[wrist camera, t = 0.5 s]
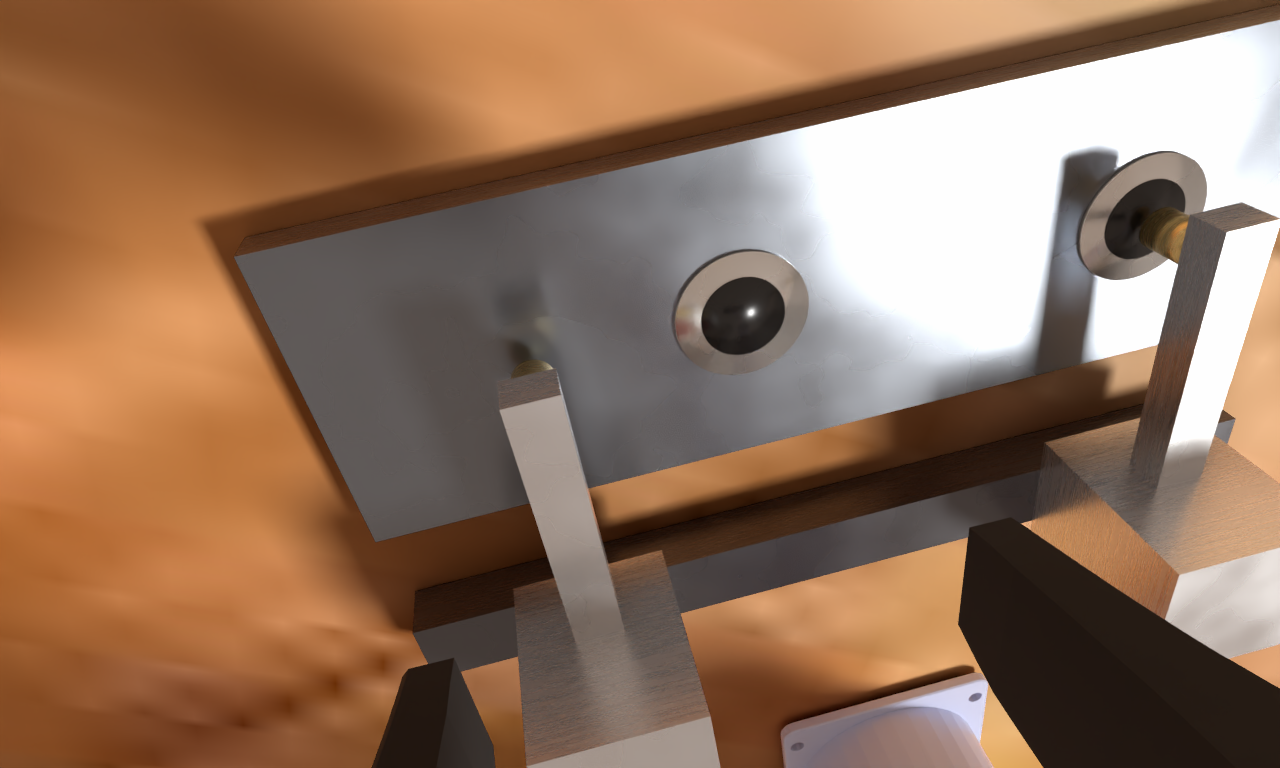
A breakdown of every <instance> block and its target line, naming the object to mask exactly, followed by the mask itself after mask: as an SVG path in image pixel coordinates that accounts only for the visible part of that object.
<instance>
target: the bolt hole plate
mask: <svg viewBox="0 0 1280 768" xmlns="http://www.w3.org/2000/svg"><path fill="white" fill-rule="evenodd" d="M1240 202H1243V203H1245V204H1248V205H1250V206H1252V207H1255V208H1257V209H1259V210H1262V211H1264V212H1266V213H1269V214H1271V215H1273V216H1276V217H1278V218H1280V4H1279V5H1275V6H1270V7H1266V8H1262V9H1257V10H1253V11H1248V12H1244V13H1239V14H1235V15H1231V16H1226V17H1222V18H1217V19H1213V20H1208V21H1204V22H1199V23H1195V24H1191V25H1186V26H1182V27H1177V28H1173V29H1168V30H1164V31H1160V32H1155V33H1151V34H1146V35H1142V36H1137V37H1133V38H1128V39H1124V40H1120V41H1115V42H1111V43H1106V44H1102V45H1097V46H1093V47H1089V48H1084V49H1080V50H1075V51H1071V52H1066V53H1062V54H1057V55H1053V56H1049V57H1044V58H1040V59H1035V60H1031V61H1026V62H1022V63H1017V64H1013V65H1009V66H1004V67H1000V68H995V69H991V70H986V71H982V72H978V73H973V74H969V75H964V76H960V77H955V78H951V79H946V80H942V81H938V82H933V83H929V84H924V85H920V86H915V87H911V88H907V89H902V90H898V91H893V92H889V93H884V94H880V95H875V96H871V97H867V98H862V99H858V100H853V101H849V102H844V103H840V104H836V105H831V106H827V107H822V108H818V109H813V110H809V111H804V112H800V113H796V114H791V115H787V116H782V117H778V118H773V119H769V120H764V121H760V122H756V123H751V124H747V125H742V126H738V127H733V128H729V129H725V130H720V131H716V132H711V133H707V134H702V135H698V136H693V137H689V138H685V139H680V140H676V141H671V142H667V143H662V144H658V145H654V146H649V147H645V148H640V149H636V150H631V151H627V152H622V153H618V154H614V155H609V156H605V157H600V158H596V159H591V160H587V161H583V162H578V163H574V164H569V165H565V166H560V167H556V168H551V169H547V170H543V171H538V172H534V173H529V174H525V175H520V176H516V177H511V178H507V179H503V180H498V181H494V182H489V183H485V184H480V185H476V186H472V187H467V188H463V189H458V190H454V191H449V192H445V193H440V194H436V195H432V196H427V197H423V198H418V199H414V200H409V201H405V202H401V203H396V204H392V205H387V206H383V207H378V208H374V209H369V210H365V211H361V212H356V213H352V214H347V215H343V216H338V217H334V218H330V219H325V220H321V221H316V222H312V223H307V224H303V225H298V226H294V227H290V228H285V229H281V230H276V231H272V232H267V233H263V234H258V235H254V236H250V237H245V239H244V240H243V242H242V244H241V246H240V247H239V249H238V251H237V252H236V254H235V256H234V258H235V260H236V262H237V264H238V266H239V268H240V270H241V272H242V274H243V276H244V278H245V280H246V282H247V284H248V286H249V289H250V291H251V293H252V295H253V297H254V299H255V301H256V303H257V305H258V307H259V309H260V311H261V313H262V315H263V317H264V319H265V321H266V323H267V325H268V327H269V329H270V331H271V333H272V335H273V337H274V339H275V341H276V343H277V345H278V347H279V349H280V351H281V353H282V355H283V357H284V359H285V361H286V363H287V365H288V367H289V369H290V371H291V373H292V375H293V377H294V379H295V381H296V383H297V385H298V387H299V389H300V391H301V393H302V395H303V397H304V399H305V401H306V403H307V405H308V407H309V409H310V411H311V413H312V415H313V417H314V419H315V421H316V423H317V425H318V427H319V429H320V431H321V433H322V435H323V437H324V439H325V441H326V443H327V445H328V447H329V449H330V451H331V453H332V456H333V458H334V460H335V462H336V464H337V466H338V468H339V470H340V472H341V474H342V476H343V478H344V480H345V482H346V484H347V486H348V488H349V490H350V492H351V494H352V496H353V498H354V500H355V502H356V504H357V506H358V508H359V510H360V512H361V514H362V516H363V518H364V520H365V522H366V524H367V526H368V528H369V530H370V532H371V534H372V536H373V538H374V540H375V542H378V541H382V540H386V539H390V538H394V537H398V536H402V535H406V534H410V533H414V532H418V531H422V530H426V529H430V528H434V527H438V526H442V525H446V524H449V523H453V522H457V521H461V520H465V519H469V518H473V517H477V516H481V515H485V514H489V513H493V512H497V511H501V510H505V509H509V508H513V507H517V506H521V505H525V504H529V503H530V502H529V499H528V496H527V493H526V490H525V486H524V483H523V480H522V477H521V474H520V471H519V468H518V465H517V462H516V459H515V456H514V453H513V450H512V447H511V444H510V441H509V438H508V435H507V432H506V429H505V426H504V423H503V420H502V416H501V413H500V410H499V397H498V383H497V382H500V381H504V380H508V379H511V374H512V372H513V370H514V369H515V367H516V366H517V365H519V364H520V363H522V362H524V361H527V360H533V359H535V360H541V361H544V362H546V363H548V364H549V365H550V366H551V367H552V368H553V369H554V368H556V370H557V374H558V378H559V381H560V385H561V389H562V393H563V396H564V400H565V404H566V408H567V411H568V415H569V419H570V422H571V426H572V430H573V434H574V437H575V441H576V445H577V449H578V452H579V456H580V460H581V463H582V467H583V471H584V475H585V478H586V482H587V486H588V488H592V487H596V486H600V485H604V484H608V483H612V482H616V481H620V480H624V479H628V478H632V477H636V476H640V475H644V474H647V473H651V472H655V471H659V470H663V469H667V468H671V467H675V466H679V465H683V464H687V463H691V462H695V461H699V460H703V459H707V458H711V457H715V456H719V455H723V454H727V453H731V452H735V451H739V450H743V449H747V448H750V447H754V446H758V445H762V444H766V443H770V442H774V441H778V440H782V439H786V438H790V437H794V436H798V435H802V434H806V433H810V432H814V431H818V430H822V429H826V428H830V427H834V426H838V425H842V424H846V423H849V422H853V421H857V420H861V419H865V418H869V417H873V416H877V415H881V414H885V413H889V412H893V411H897V410H901V409H905V408H909V407H913V406H917V405H921V404H925V403H929V402H933V401H937V400H941V399H945V398H948V397H952V396H956V395H960V394H964V393H968V392H972V391H976V390H980V389H984V388H988V387H992V386H996V385H1000V384H1004V383H1008V382H1012V381H1016V380H1020V379H1024V378H1028V377H1032V376H1036V375H1040V374H1044V373H1048V372H1051V371H1055V370H1059V369H1063V368H1067V367H1071V366H1075V365H1079V364H1083V363H1087V362H1091V361H1095V360H1099V359H1103V358H1107V357H1111V356H1115V355H1119V354H1123V353H1127V352H1131V351H1135V350H1139V349H1143V348H1147V347H1150V346H1154V345H1158V344H1159V340H1160V336H1161V332H1162V327H1163V323H1164V319H1165V315H1166V311H1167V307H1168V303H1169V299H1170V295H1171V290H1172V286H1173V282H1174V278H1175V274H1176V270H1177V266H1178V264H1176V263H1174V262H1172V261H1171V260H1169V259H1167V258H1165V257H1163V256H1162V255H1160V254H1158V253H1156V252H1154V251H1152V250H1151V249H1149V248H1147V247H1145V246H1143V245H1142V244H1141V243H1140V241H1139V230H1140V227H1141V225H1142V224H1143V222H1144V221H1145V219H1146V218H1147V217H1148V216H1149V215H1150V214H1151V213H1153V212H1154V211H1156V210H1157V209H1160V208H1163V207H1172V208H1175V209H1177V210H1179V211H1181V212H1183V213H1185V214H1187V215H1189V216H1190V215H1191V214H1195V213H1199V212H1203V211H1207V210H1211V209H1215V208H1219V207H1224V206H1228V205H1232V204H1236V203H1240Z"/></svg>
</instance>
